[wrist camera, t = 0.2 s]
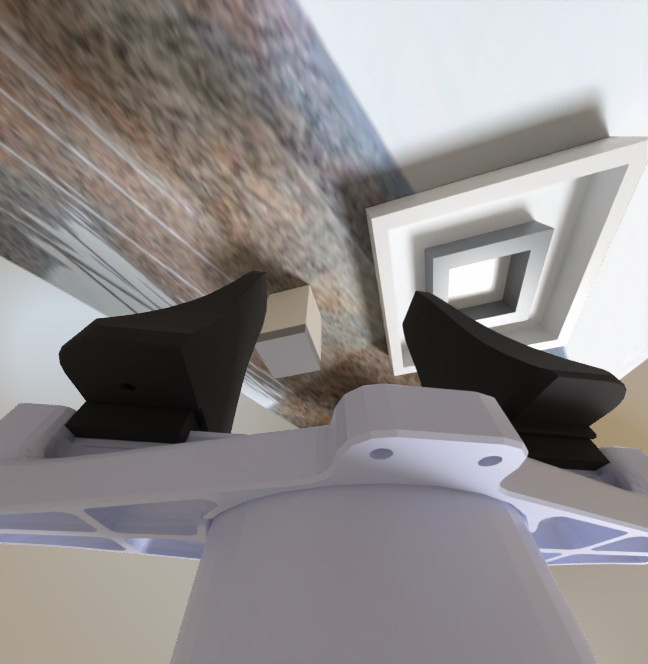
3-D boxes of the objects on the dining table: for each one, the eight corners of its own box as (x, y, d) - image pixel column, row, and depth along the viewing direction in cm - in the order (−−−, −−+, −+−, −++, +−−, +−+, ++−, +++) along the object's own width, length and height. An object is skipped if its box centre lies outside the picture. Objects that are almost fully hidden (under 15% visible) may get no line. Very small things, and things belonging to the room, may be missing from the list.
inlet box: (543, 326, 26) (566, 345, 23) (388, 355, 28) (394, 375, 26) (610, 136, 16) (659, 136, 14) (365, 208, 19) (371, 218, 16)
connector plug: (321, 318, 25) (320, 370, 20) (284, 327, 26) (273, 378, 20) (309, 284, 23) (304, 332, 17) (269, 294, 23) (252, 343, 18)
